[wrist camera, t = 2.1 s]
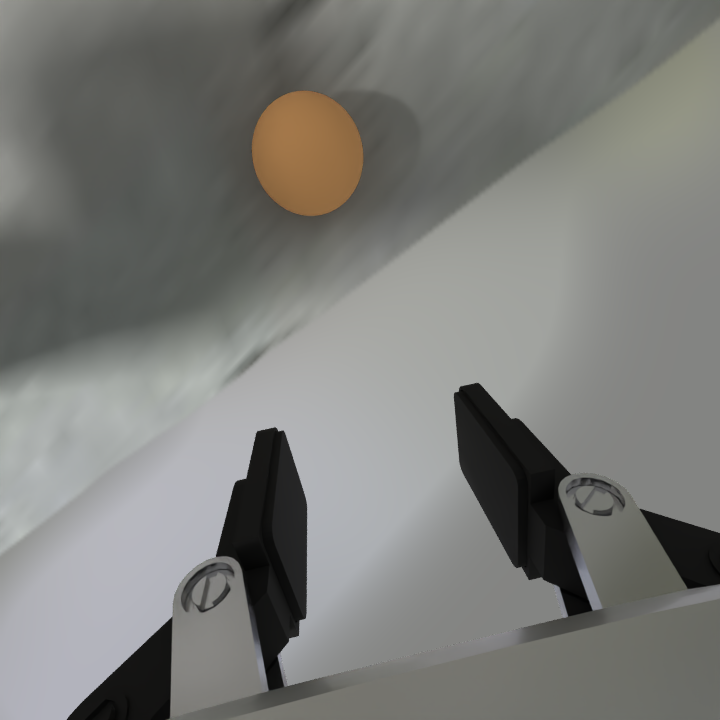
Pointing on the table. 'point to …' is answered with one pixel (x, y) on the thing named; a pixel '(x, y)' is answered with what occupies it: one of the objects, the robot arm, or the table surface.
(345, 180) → the ball
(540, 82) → the table surface
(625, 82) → the table surface
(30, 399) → the table surface
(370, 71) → the table surface
